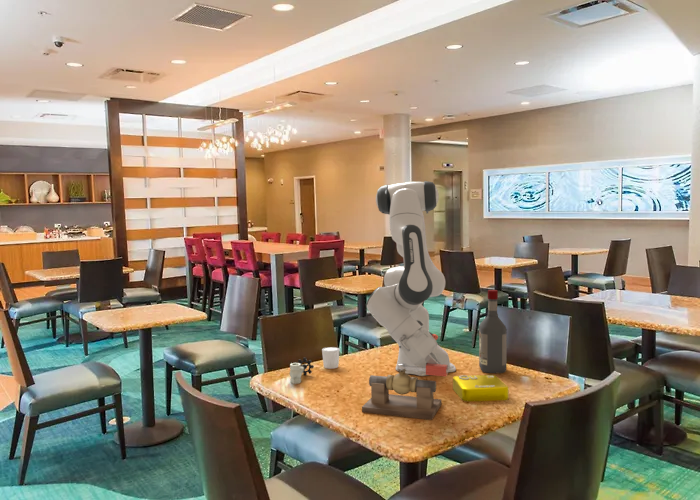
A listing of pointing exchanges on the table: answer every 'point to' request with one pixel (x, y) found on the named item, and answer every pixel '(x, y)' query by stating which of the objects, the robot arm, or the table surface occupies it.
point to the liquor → (492, 339)
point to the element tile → (480, 388)
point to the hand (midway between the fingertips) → (438, 366)
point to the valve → (299, 370)
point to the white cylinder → (330, 357)
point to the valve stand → (402, 397)
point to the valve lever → (425, 369)
